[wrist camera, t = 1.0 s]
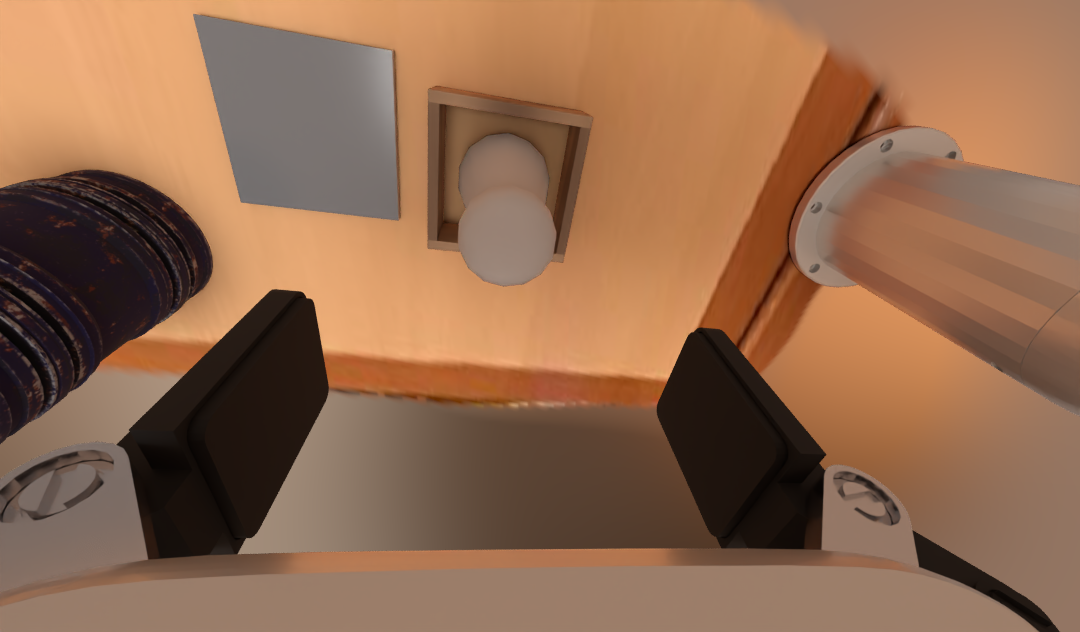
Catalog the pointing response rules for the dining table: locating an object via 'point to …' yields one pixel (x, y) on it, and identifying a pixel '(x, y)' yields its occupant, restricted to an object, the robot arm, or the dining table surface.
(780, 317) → the dining table surface
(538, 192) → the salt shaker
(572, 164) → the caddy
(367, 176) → the coaster
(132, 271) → the dark blue cylinder
